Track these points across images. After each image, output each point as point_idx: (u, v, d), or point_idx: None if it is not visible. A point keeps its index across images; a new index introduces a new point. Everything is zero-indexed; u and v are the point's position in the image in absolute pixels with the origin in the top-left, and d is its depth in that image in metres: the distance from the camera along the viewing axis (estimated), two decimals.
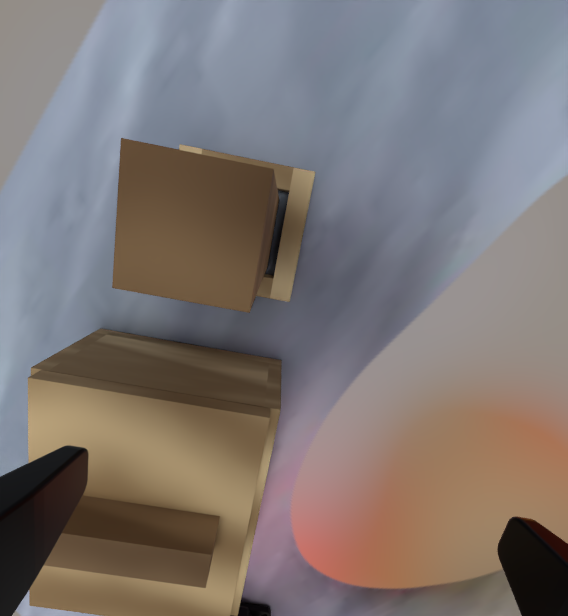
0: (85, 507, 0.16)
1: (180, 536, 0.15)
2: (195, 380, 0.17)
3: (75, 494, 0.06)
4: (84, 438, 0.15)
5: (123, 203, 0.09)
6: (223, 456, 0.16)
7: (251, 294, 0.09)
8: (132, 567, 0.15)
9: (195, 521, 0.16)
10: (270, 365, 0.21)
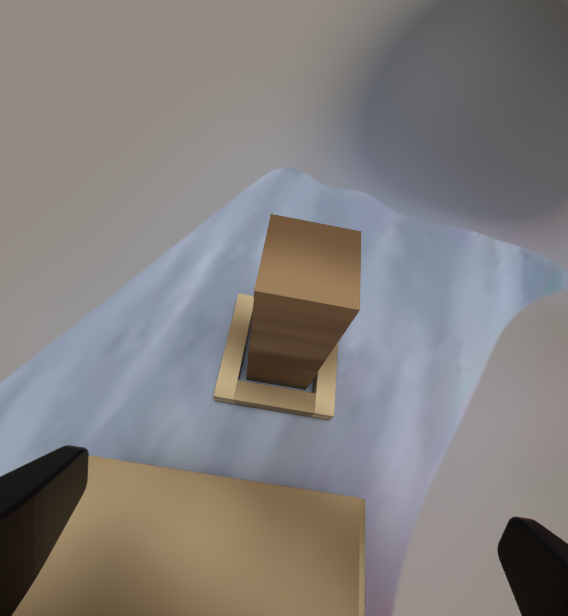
0: None
1: None
2: None
3: (75, 494, 0.06)
4: (119, 551, 0.11)
5: (269, 242, 0.13)
6: (308, 570, 0.11)
7: (359, 297, 0.12)
8: None
9: None
10: None
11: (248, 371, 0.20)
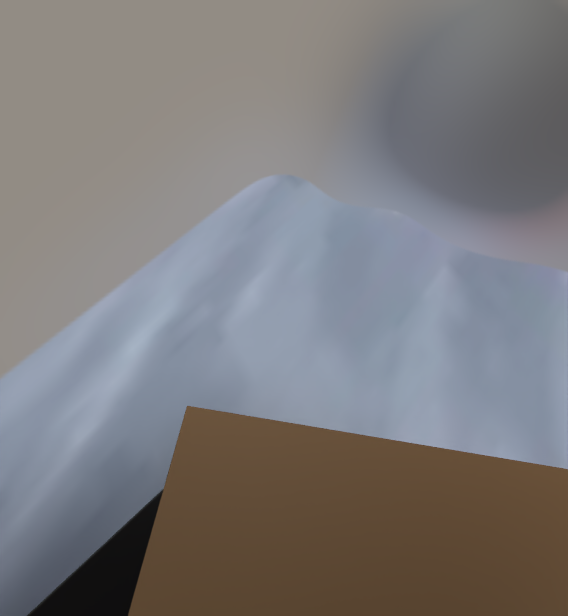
0: None
1: None
2: None
3: None
4: None
5: None
6: None
7: None
8: None
9: None
10: None
11: None
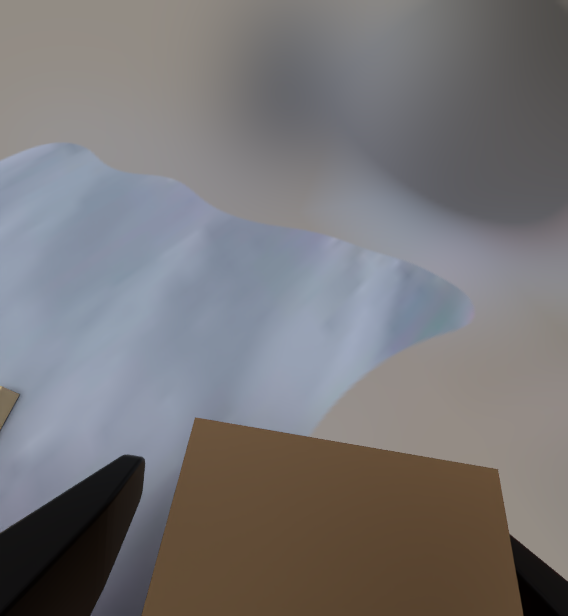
0: None
1: None
2: None
3: (134, 503, 0.06)
4: None
5: (167, 582, 0.03)
6: None
7: None
8: None
9: None
10: None
11: None
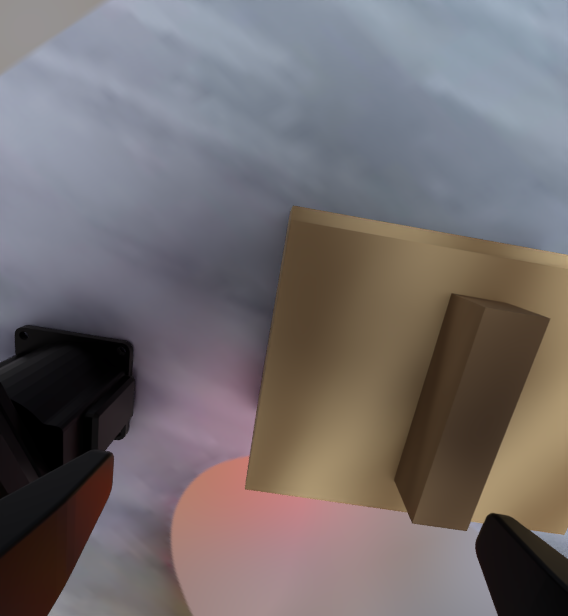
0: None
1: None
2: None
3: (101, 498, 0.06)
4: None
5: None
6: (524, 492, 0.14)
7: None
8: (458, 444, 0.11)
9: None
10: None
11: None
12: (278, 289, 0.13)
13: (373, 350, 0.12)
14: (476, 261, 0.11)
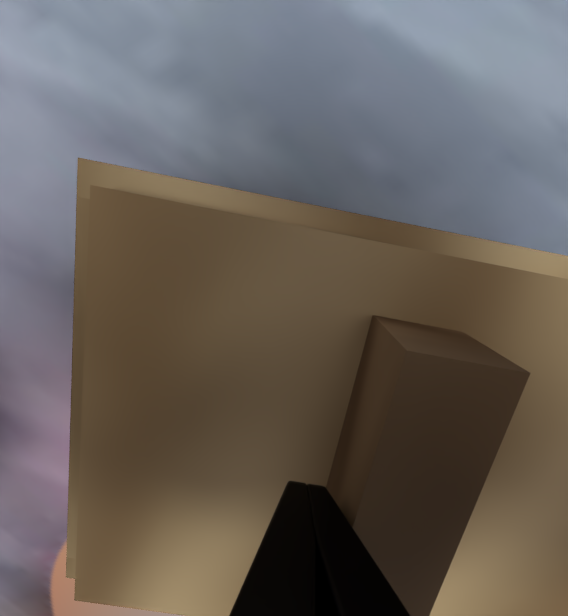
0: None
1: None
2: None
3: None
4: None
5: None
6: (494, 610, 0.09)
7: None
8: None
9: None
10: None
11: None
12: None
13: (250, 402, 0.07)
14: (411, 262, 0.07)
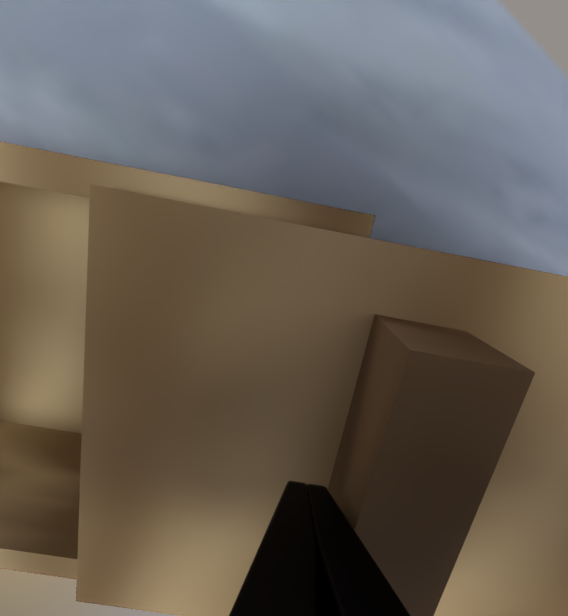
0: None
1: None
2: None
3: None
4: None
5: None
6: (498, 611, 0.09)
7: None
8: None
9: None
10: None
11: None
12: None
13: (251, 403, 0.07)
14: (414, 261, 0.07)
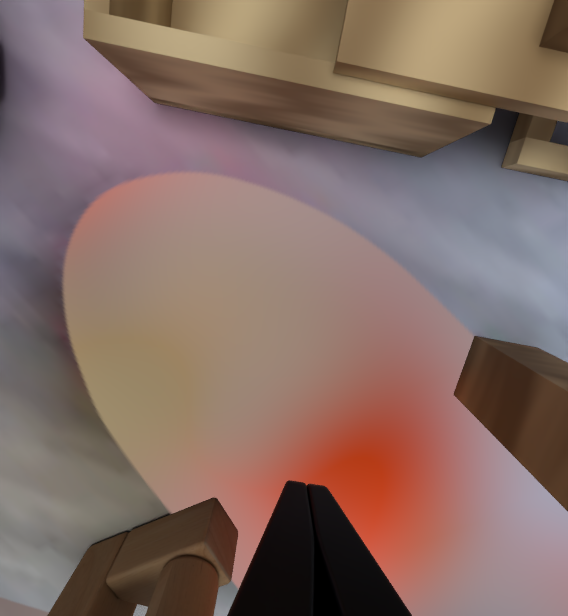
0: None
1: None
2: None
3: None
4: None
5: None
6: None
7: None
8: None
9: None
10: None
11: (491, 347, 0.18)
12: None
13: None
14: None
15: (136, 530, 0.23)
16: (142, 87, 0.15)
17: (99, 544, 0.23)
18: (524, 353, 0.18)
